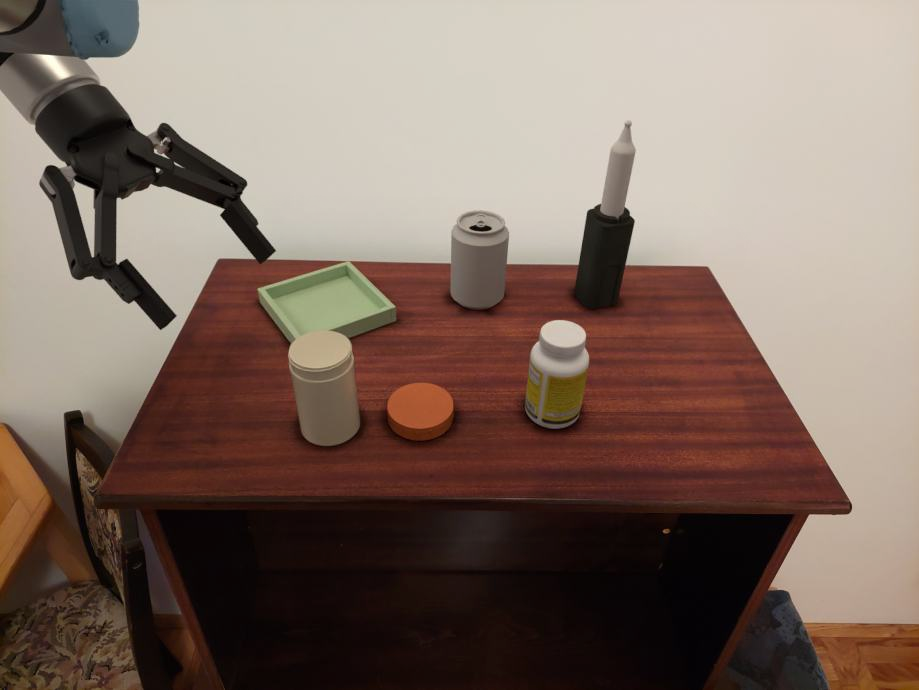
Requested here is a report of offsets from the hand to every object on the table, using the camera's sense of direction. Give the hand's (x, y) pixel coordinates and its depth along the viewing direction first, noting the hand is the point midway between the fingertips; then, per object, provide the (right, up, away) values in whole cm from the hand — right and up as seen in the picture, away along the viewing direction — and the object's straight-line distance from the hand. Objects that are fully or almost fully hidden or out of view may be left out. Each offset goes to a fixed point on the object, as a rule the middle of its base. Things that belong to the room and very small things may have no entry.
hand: (222, 288), depth 64 cm
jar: (+10, -14, +6) cm, 18 cm away
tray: (+6, -1, +22) cm, 23 cm away
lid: (+19, -12, +6) cm, 24 cm away
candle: (+43, +1, +27) cm, 50 cm away
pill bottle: (+34, -13, +9) cm, 37 cm away
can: (+26, +1, +26) cm, 37 cm away
